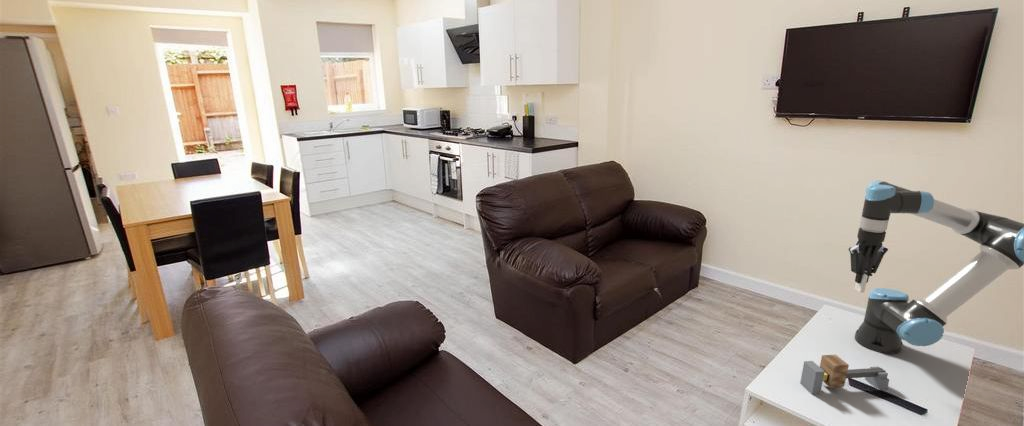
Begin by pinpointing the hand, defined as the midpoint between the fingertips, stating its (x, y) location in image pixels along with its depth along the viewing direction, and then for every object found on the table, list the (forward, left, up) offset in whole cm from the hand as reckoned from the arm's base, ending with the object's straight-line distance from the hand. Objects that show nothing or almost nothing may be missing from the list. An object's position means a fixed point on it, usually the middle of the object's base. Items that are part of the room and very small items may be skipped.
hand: (859, 290), depth 166 cm
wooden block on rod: (+16, +14, -27) cm, 35 cm away
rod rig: (+11, +14, -29) cm, 34 cm away
